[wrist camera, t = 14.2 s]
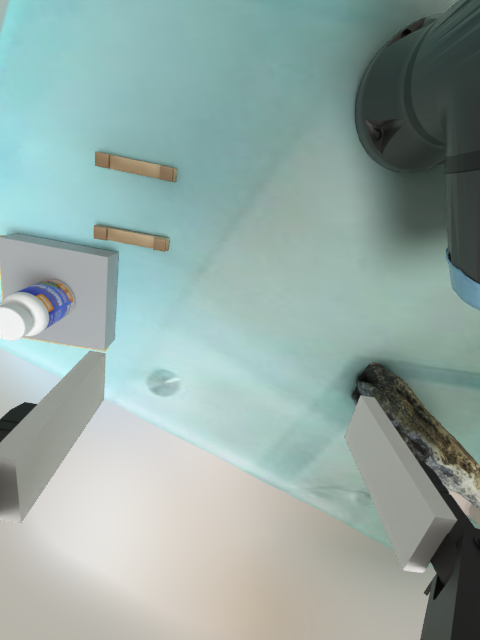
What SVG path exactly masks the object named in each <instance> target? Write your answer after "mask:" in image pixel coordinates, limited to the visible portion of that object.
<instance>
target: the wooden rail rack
mask: <svg viewBox="0 0 480 640" xmlns="http://www.w3.org/2000/svg"><path fill="white" fill-rule="evenodd" d="M95 166H99V167H104V168H109V169H114V170H118V171H123V172H128V173H133V174H138V175H143V176H148V177H152V178H157V179H162V180H167V181H172V182H176V177H177V169H176V168H172V167H167V166H163V165H157V164H152V163H147V162H142V161H138V160H133V159H128V158H123V157H119V156H114V155H110V154H105V153H101V152H96V151H95ZM94 238H95V239H101V240H111V241H116V242H121V243H126V244H132V245H137V246H142V247H147V248H153V250H159V251H164V252H165V251H168V250H169V243H170V238H164V237H159V236H154V235H149V234H144V233H138V232H133V231H128V230H123V229H118V228H113V227H107V226H102V225H94Z"/></svg>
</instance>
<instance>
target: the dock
mask: <svg viewBox="0 0 480 640" xmlns="http://www.w3.org/2000/svg"><path fill="white" fill-rule="evenodd" d="M118 259H119V252H114V251H109V250H103V249H98V248H93V247H87V246H82V245H77V244H71V243H66V242H61V241H55V240H50V239H45V238H39V237H34V236H29V235H24V234H12V235H0V278H1V289H2V300H3V299H4V298H5V297H7V296H8V295H10V294H12V293H15V292H17V291H20V290H22V289H25V288H27V287H29V286H32V285H34V284H37V283H39V282H41V281H44V280H57V281H60V282H62V283H64V284H65V285H67V286H68V287H69V288H70V290H71V291H72V293H73V295H74V298H75V305H74V308H73V310H72V311H71V312H70V313H69V314H68V315H66V316H65V317H64V318H62V319H61V320H59V321H57V322H56V323H54V324H53V325H51V326H50V327H48V328H47V329H45V330H44V331H42V332H41V333H39V334H37V335H34V336H23V337H22V338H26V339H32V340H38V341H44V342H50V343H56V344H62V345H68V346H74V347H80V348H87V349H93V350H99V351H106V350H107V349H108V346H109V345H110V344H111V343H112V342H113V341H114V340H115V321H116V300H117V279H118Z"/></svg>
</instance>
